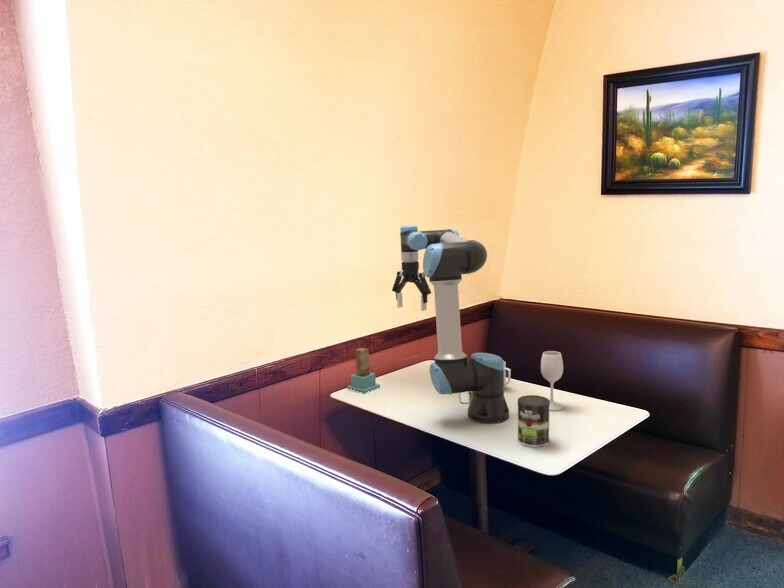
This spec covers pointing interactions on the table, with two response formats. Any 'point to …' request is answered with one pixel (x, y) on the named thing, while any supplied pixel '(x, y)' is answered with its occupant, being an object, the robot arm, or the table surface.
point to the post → (362, 362)
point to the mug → (505, 374)
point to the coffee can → (533, 420)
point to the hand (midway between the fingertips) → (411, 308)
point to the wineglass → (552, 373)
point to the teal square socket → (363, 383)
